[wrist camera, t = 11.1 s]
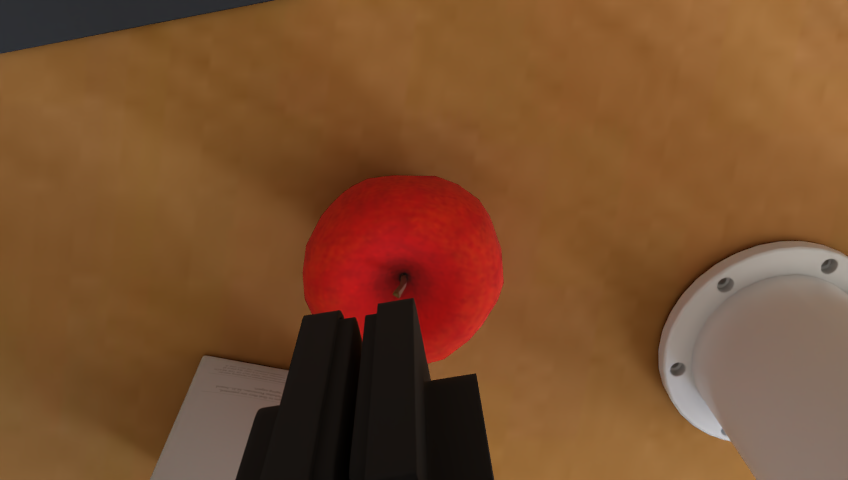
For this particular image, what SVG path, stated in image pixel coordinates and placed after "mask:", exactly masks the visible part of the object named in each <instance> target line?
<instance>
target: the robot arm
mask: <svg viewBox="0 0 848 480" xmlns="http://www.w3.org/2000/svg"><path fill="white" fill-rule="evenodd" d="M658 356H659V371H660V375H661V379H662V384H663V386H664V388H665V390H666V392H667V394H668V395H669V397H670V399H671V401H672V402H673V404H674V405H675V407H676V408H677V410H678V411H679V413H680V414H681V415H682V416H683V417H684V418H685V419H686V420H688V421H689V422H690V423H691V424H692V425H693V426H695V427H696V428H698V429H700V430H702V431H703V432H705V433H707V434H709V435H711V436H714V437H717V438H720V439H723V440H728V441H731V442H732V444H733V445H734V447H735V448H736V450H737V451H738V453H739V454H740V456H741V457H742V459H743V460H744V462H745V463H746V465H747V466H748V468H749V469H750V471H751V472H752V474H753V475H754V477H755V478H756V480H848V256H846V255H845V254H843V253H842V252H840V251H837V250H835V249H832V248H830V247H827V246H825V245H822V244H816V243H811V242H805V241H779V242H774V243H768V244H763V245H758V246H755V247H752V248H749V249H746V250H744V251H741V252H738V253H736V254H734V255H732V256H730V257H728V258H726V259H725V260H723V261H721V262H719V263H717V264H715V265H714V266H713V267H712V268H710V269H709V270H708V271H706V272H705V273H704V274H702V275H701V276H700V277H699V278H697V279H696V280H695V281H694V283H693V284H692V285H691V286H690V287H689V288H688V289H687V290H686V291H685V292H684V293H683V294H682V296H681V297H680V299H679V300H678V302H677V303H676V305H675V306H674V308H673V309H672V311H671V312H670V314H669V317H668V319H667V321H666V324H665V326H664V328H663V331H662V335H661V340H660V344H659V349H658ZM235 480H494V477H493V471H492V465H491V459H490V453H489V447H488V441H487V435H486V429H485V423H484V417H483V411H482V405H481V399H480V393H479V388H478V382H477V376H476V374H470V375H463V376H457V377H451V378H445V379H438V380H432V381H431V379H430V374H429V369H428V364H427V359H426V354H425V349H424V344H423V339H422V334H421V329H420V324H419V319H418V314H417V309H416V304H415V300H414V298H409V299H403V300H397V301H391V302H385V303H379V304H378V306H377V313H376V314H370V315H365V322H364V332H363V341H362V338H361V334H360V330H359V326H358V322H357V319H356V318H355V317H352V318H346V319H344V316H343V314H342V312H341V310H337V311H330V312H324V313H318V314H312V315H306V316H304V317H303V319H302V323H301V327H300V331H299V334H298V338H297V342H296V346H295V349H294V353H293V357H292V360H291V364H290V368H289V372H288V375H287V379H286V383H285V387H284V390H283V394H282V398H281V402H280V405H276V406H270V407H264V408H261V409H259V410H258V411H257V413H256V415H255V418H254V421H253V425H252V428H251V431H250V434H249V437H248V441H247V444H246V447H245V450H244V453H243V457H242V460H241V463H240V466H239V469H238V473H237V476H236V479H235Z"/></svg>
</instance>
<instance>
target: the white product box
mask: <svg viewBox="0 0 848 480" xmlns="http://www.w3.org/2000/svg"><path fill="white" fill-rule="evenodd" d="M288 372H289V371H288V370H283V369H277V368H272V367H266V366H262V365H256V364H251V363H245V362H239V361H234V360H228V359H223V358H217V357H212V356H203V357H202V359H201V361H200V364H199V366H198V369H197V371H196V373H195V376H194V378H193V380H192V383H191V385H190V387H189V390H188V392H187V395H186V397H185V399H184V402H183V404H182V406H181V409H180V411H179V413H178V416H177V418H176V420H175V423H174V425H173V427H172V430H171V432H170V434H169V437H168V439H167V441H166V443H165V446H164V448H163V450H162V453H161V455H160V457H159V460H158V462H157V464H156V467H155V469H154V471H153V474H152V476H151V478H150V480H235V479H236V476H237V473H238V469H239V466H240V463H241V460H242V457H243V453H244V450H245V447H246V444H247V441H248V437H249V434H250V431H251V428H252V425H253V421H254V418H255V415H256V413H257V411H258V410H259V409H261V408H264V407H270V406H276V405H280V402H281V398H282V394H283V390H284V387H285V383H286V379H287V375H288Z"/></svg>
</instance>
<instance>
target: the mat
mask: <svg viewBox="0 0 848 480" xmlns="http://www.w3.org/2000/svg"><path fill="white" fill-rule="evenodd" d="M268 1H273V0H0V53H6V52H11V51H16V50H21V49H26V48H31V47H36V46H42V45H47V44H52V43H57V42H62V41H67V40H72V39H78V38H83V37H88V36H93V35H98V34H103V33H108V32H113V31H119V30H124V29H129V28H134V27H139V26H144V25H149V24H155V23H160V22H165V21H170V20H175V19H180V18H185V17H191V16H196V15H201V14H206V13H211V12H216V11H221V10H227V9H232V8H237V7H242V6H247V5H252V4H257V3H262V2H268Z"/></svg>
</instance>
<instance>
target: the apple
mask: <svg viewBox="0 0 848 480" xmlns="http://www.w3.org/2000/svg"><path fill="white" fill-rule="evenodd" d="M303 283H304V294H305V300H306V302H307V305H308V307H309V309H310V311H311V313H312V314H318V313H324V312H330V311H337V310H341V312H342V314H343V316H344V319H346V318H352V317H355V318H356V319H357V322H358V326H359V330H360V334H361V338H362V341H363V332H364V322H365V315H370V314H376V313H377V306H378V304H379V303H385V302H391V301H397V300H403V299H409V298H414V300H415V304H416V309H417V314H418V319H419V324H420V329H421V334H422V339H423V344H424V349H425V354H426V359H427V363H431V362H435V361H439V360H442V359H445V358H446V357H447V356H449V355H450V354H451V353H453V352H454V351H455V350H457V349H458V348H459V347H461V346H462V345H463V344H465V343H466V342H467V341H469V340H470V338H471V337H472V336H473V335H474V334H475V333H476V331H477V330H478V329H479V328H480V327H481V326H482V325H483V323H484V321H485V320H486V318H487V317H488V315H489V313H490V312H491V310H492V309H493V307H494V305H495V304H496V302H497V301H498V298H499V295H500V292H501V289H502V286H503V283H504V281H503V267H502V253H501V247H500V244H499V241H498V238H497V236H496V233H495V230H494V227H493V224H492V221H491V219H490V216H489V214H488V213H487V211H486V210H485V208H484V207H483V205H482V204H481V202H480V200H479V199H477V198H476V197H475V196H473V195H472V194H470V193H469V192H468V191H466V190H465V189H463V188H462V187H461V186H459V185H458V184H456V183H453V182H450V181H447V180H445V179H442V178H439V177H437V176H401V175H392V176H384V177H376V178H368V179H366V180H364V181H362V182H360V183H358V184H356V185H353V186H352V187H350V188H349V189H347V190H346V191H345V192H343V193H342V194H341V195H340V196H339V197H338V198H337V199H336V200H335V201H334V202H333V203H332V204H331V205H330V206H329V207H328V208H327V210H326V211H325V212H324V213H323V214H322V216H321V217H320V219H319V221H318V223H317V225H316V227H315V229H314V231H313V233H312V235H311V237H310V239H309V241H308V243H307V245H306V251H305V259H304V267H303Z"/></svg>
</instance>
